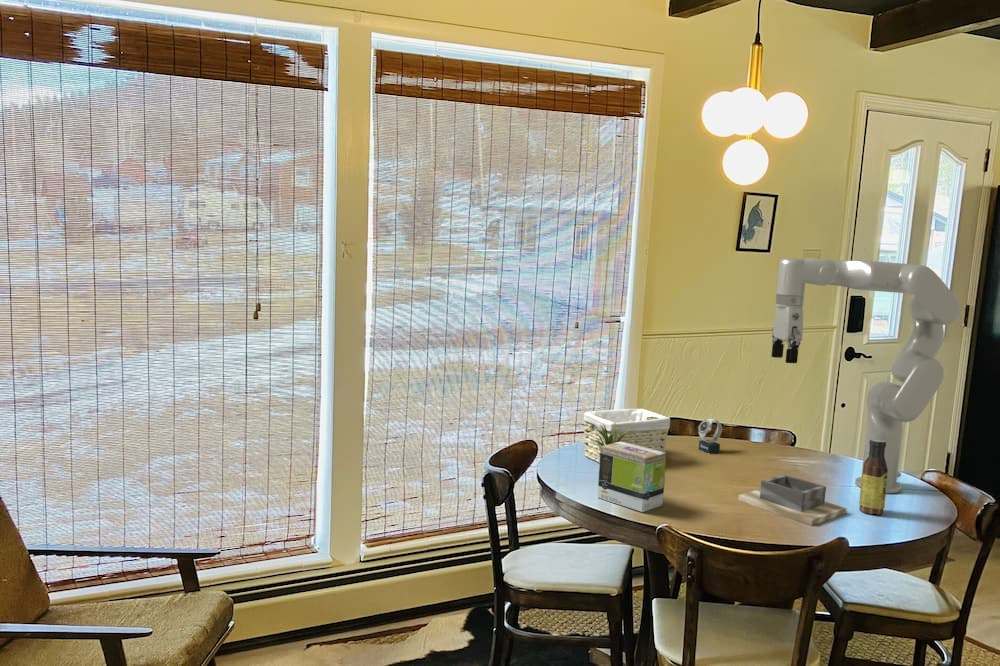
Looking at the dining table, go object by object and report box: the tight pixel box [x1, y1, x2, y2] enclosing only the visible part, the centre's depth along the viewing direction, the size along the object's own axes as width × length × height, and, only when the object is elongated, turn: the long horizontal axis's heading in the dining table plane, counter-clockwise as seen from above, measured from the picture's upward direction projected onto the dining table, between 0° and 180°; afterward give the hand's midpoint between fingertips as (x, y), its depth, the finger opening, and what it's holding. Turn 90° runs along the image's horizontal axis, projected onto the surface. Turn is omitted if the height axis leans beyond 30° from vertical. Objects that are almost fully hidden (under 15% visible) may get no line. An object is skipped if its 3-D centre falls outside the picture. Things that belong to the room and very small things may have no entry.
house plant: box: [587, 423, 632, 465], centre depth 238 cm, size 14×14×16 cm
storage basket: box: [583, 408, 671, 463], centre depth 256 cm, size 24×16×15 cm
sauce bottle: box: [858, 439, 888, 516], centre depth 217 cm, size 6×6×20 cm
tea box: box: [597, 441, 667, 513], centre depth 216 cm, size 15×10×15 cm
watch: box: [697, 418, 723, 454], centre depth 271 cm, size 6×8×11 cm
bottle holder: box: [737, 474, 847, 527], centre depth 218 cm, size 17×22×6 cm
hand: (783, 360), depth 233 cm, fingers open, 9 cm apart
